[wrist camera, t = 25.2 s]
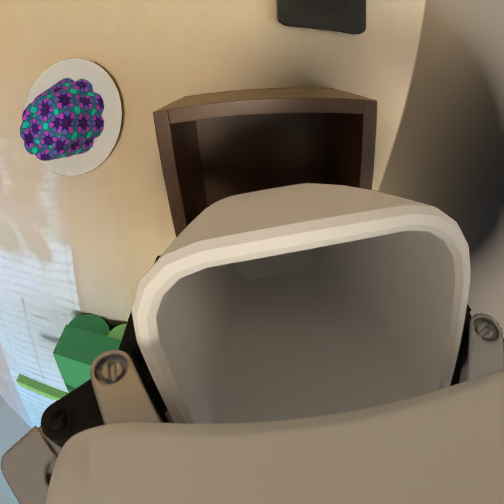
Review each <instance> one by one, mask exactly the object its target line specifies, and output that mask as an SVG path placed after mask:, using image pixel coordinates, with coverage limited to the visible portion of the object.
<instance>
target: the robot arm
mask: <svg viewBox="0 0 504 504" xmlns="http://www.w3.org/2000/svg"><path fill="white" fill-rule="evenodd" d="M159 258H160V256H157V258H156V261H157V260H158V259H159ZM156 261H155V262H156ZM154 264H155V263H154ZM470 311H471V309H470V307H469V306H468V304H467V308H466V314H465V321H464V326H463V332H462V337H461V342H460V347H459V352H458V356H457V360H456V365H455V369H454V373H453V376H452V380H451V384H450V387H447V388H443V389H440V390H437V391H434V392H430V393H427V394H424V395H420V396H416V397H413V398H409V399H405V400H401V401H397V402H393V403H389V404H384V405H380V406H375V407H371V408H366V409H361V410H355V411H350V412H344V413H338V414H332V415H325V416H318V417H310V418H302V419H293V420H283V421H271V422H255V423H230V424H182V423H171V422H170V420H169V418H168V417H167V415H166V413H165V412H166V411H168V409H167V407H166V405H165V403H164V401H163V399H162V397H161V395H160V393H159V391H158V388H157V386H156V384H155V382H154V380H153V378H152V375H151V373H150V371H149V369H148V366H147V364H146V362H145V359H144V357H143V355H142V352H141V350H140V348H139V345H138V343H137V339H136V334H135V328H134V323H133V317H132V311H131V314H130V317H129V319H128V322H127V325H126V328H125V331H124V334H123V337H122V340H121V343H120V346H119V349H118V350H109V351H106V352H104V353H102V354H100V355H99V356H98V357H97V358H96V359H95V360H94V361H93V363H92V365H91V368H90V378H91V379H89V380H88V381H86V382H85V383H83V384H82V385H80V386H79V387H77V388H76V389H74V390H73V391H71V392H70V393H68V394H67V395H65V396H64V397H62V398H61V399H59V400H57V401H56V402H54V403H53V404H51V405H50V406H49V407H48V408H47V409H46V410H45V412H44V413H43V415H42V418H41V426H40V427H39V428H38V427H37V426H34V427H33V428H32V429H31V430H30V431H29V432H28V433H27V434H26V435H24V437H22V438H21V439H20V440H19V441H18V442H17V443H15V445H13V446H12V447H11V448H10V449H9V450H8V451H7V452H6V453H5V454H4V455H3V457H2V460H1V470H2V473H3V475H4V477H5V479H6V481H7V483H8V485H9V486H10V488H11V490H12V492H13V493H14V495H15V497H16V498H17V500H18V502H19V503H20V504H504V339H503V333H502V328H501V327H500V325H499V323H498V322H497V321H496V320H495V319H494V318H492V317H491V316H489V315H486V314H476V315H474V316H472V317H471V315H470Z"/></svg>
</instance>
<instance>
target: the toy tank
mask: <svg viewBox="0 0 504 504" xmlns="http://www.w3.org/2000/svg"><path fill="white" fill-rule="evenodd" d="M126 325H127V324H121V325H119V326H116V327H114V328H113V329H112V330H111V331H110V330H109V326H108V325H107V323H106V322H105V321H104V320H103V319H102V318H101V317H98V316H96V315H91V314H85V315H81V316H78V317H76V318H74V319H73V320H72V321H71V322H70V323H69V325H67V324H66V326H65V329H64V331H63V333H62V335H61V337H60V339H59V341H58V343H57V345H56V347H55V350H54V352H53V355H54V357H55V360H56V363H57V365H58V368H59V370H60V373H61V375H62V378H63V380H64V382H65V385H66V387H67V389H68V392H69V393H70V392H71V391H73V390H74V389H76V388H77V387H79V386H80V385H82V384H83V383H85V382H86V381H88V380H89V379H91V378H90V368H91V365H92V363H93V361H94V360H95V359H96V358H97V357H98V356H99V355H100V354H102V353H104V352H106V351H109V350H118V349H119V346H120V343H121V340H122V337H123V334H124V331H125V328H126ZM17 382H18V384H19V385H20V386H22V387H25V388H27V389H29V390H31V391H34V392H36V393H39V394H41V395H43V396H46V397H48V398H51V399H54V400H56V401H57V400H59V399H61V398H62V397H64V396H65V395H67V394H68V393H67V392H64V391H61V390H59V389H56V388H53V387H51V386H48V385H45V384H43V383H40V382H38V381H35V380H33V379H31V378H28V377H26V376H24V375H21V374H19V376H18V379H17Z"/></svg>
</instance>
